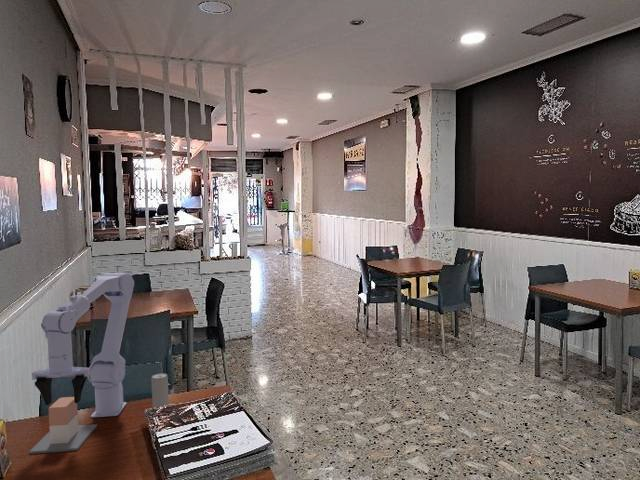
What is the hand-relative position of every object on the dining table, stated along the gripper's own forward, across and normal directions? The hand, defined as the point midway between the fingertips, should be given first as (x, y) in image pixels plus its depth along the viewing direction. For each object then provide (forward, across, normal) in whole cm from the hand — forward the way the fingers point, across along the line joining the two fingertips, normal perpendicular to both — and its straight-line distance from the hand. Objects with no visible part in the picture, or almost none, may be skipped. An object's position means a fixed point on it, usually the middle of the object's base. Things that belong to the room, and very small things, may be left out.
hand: (63, 402), depth 128 cm
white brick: (+10, 0, 0) cm, 10 cm away
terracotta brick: (+5, 0, 0) cm, 5 cm away
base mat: (+10, 0, 0) cm, 10 cm away
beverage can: (+11, +23, +13) cm, 28 cm away
